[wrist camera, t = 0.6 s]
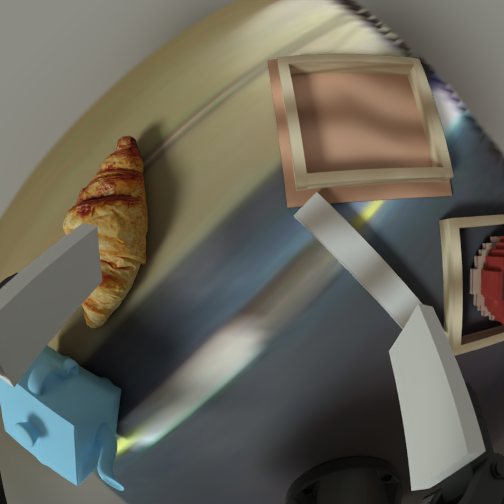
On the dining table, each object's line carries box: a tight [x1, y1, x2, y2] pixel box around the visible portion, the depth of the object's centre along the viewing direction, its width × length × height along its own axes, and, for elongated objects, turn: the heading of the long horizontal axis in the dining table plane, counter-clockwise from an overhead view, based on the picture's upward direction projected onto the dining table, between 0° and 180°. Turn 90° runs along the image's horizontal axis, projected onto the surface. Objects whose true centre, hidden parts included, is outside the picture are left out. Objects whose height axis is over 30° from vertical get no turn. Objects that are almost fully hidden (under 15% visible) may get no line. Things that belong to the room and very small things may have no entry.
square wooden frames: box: [268, 54, 504, 356], centre depth 26 cm, size 34×32×3 cm
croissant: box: [63, 136, 148, 328], centre depth 29 cm, size 21×10×8 cm, turn 169°
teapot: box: [0, 346, 124, 491], centre depth 25 cm, size 18×16×13 cm
